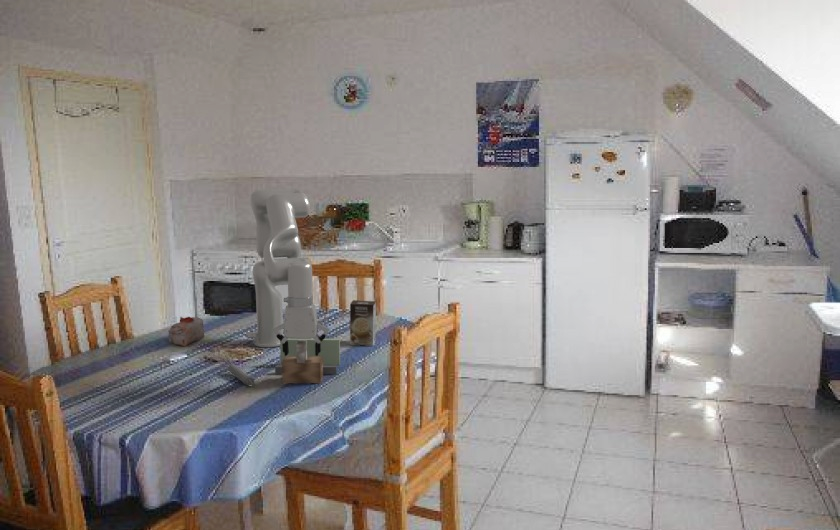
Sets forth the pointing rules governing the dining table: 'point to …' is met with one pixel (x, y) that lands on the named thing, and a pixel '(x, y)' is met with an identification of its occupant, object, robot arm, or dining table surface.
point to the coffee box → (362, 323)
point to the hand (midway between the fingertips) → (301, 354)
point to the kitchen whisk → (235, 370)
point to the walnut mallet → (302, 367)
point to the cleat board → (328, 352)
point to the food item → (186, 331)
